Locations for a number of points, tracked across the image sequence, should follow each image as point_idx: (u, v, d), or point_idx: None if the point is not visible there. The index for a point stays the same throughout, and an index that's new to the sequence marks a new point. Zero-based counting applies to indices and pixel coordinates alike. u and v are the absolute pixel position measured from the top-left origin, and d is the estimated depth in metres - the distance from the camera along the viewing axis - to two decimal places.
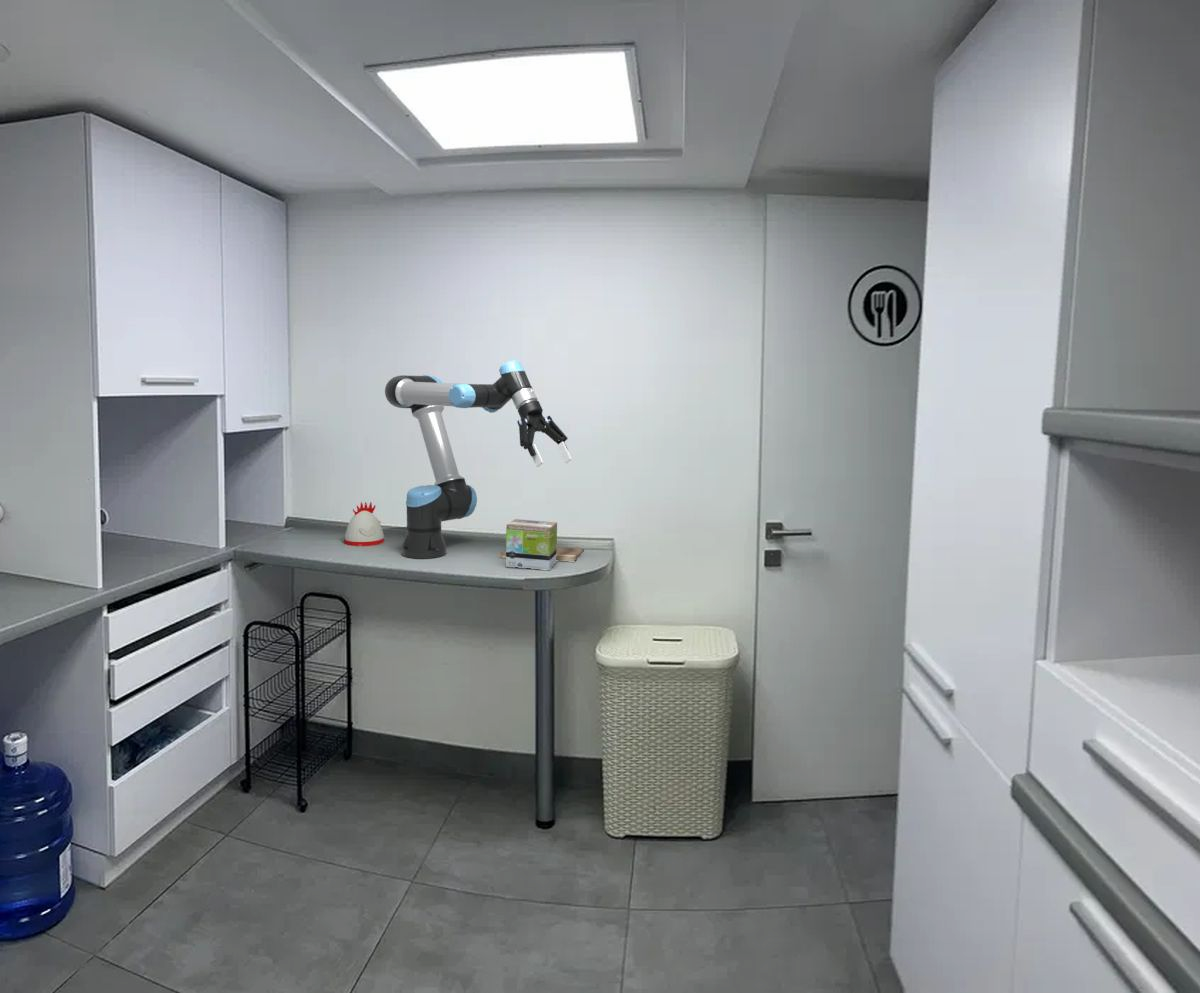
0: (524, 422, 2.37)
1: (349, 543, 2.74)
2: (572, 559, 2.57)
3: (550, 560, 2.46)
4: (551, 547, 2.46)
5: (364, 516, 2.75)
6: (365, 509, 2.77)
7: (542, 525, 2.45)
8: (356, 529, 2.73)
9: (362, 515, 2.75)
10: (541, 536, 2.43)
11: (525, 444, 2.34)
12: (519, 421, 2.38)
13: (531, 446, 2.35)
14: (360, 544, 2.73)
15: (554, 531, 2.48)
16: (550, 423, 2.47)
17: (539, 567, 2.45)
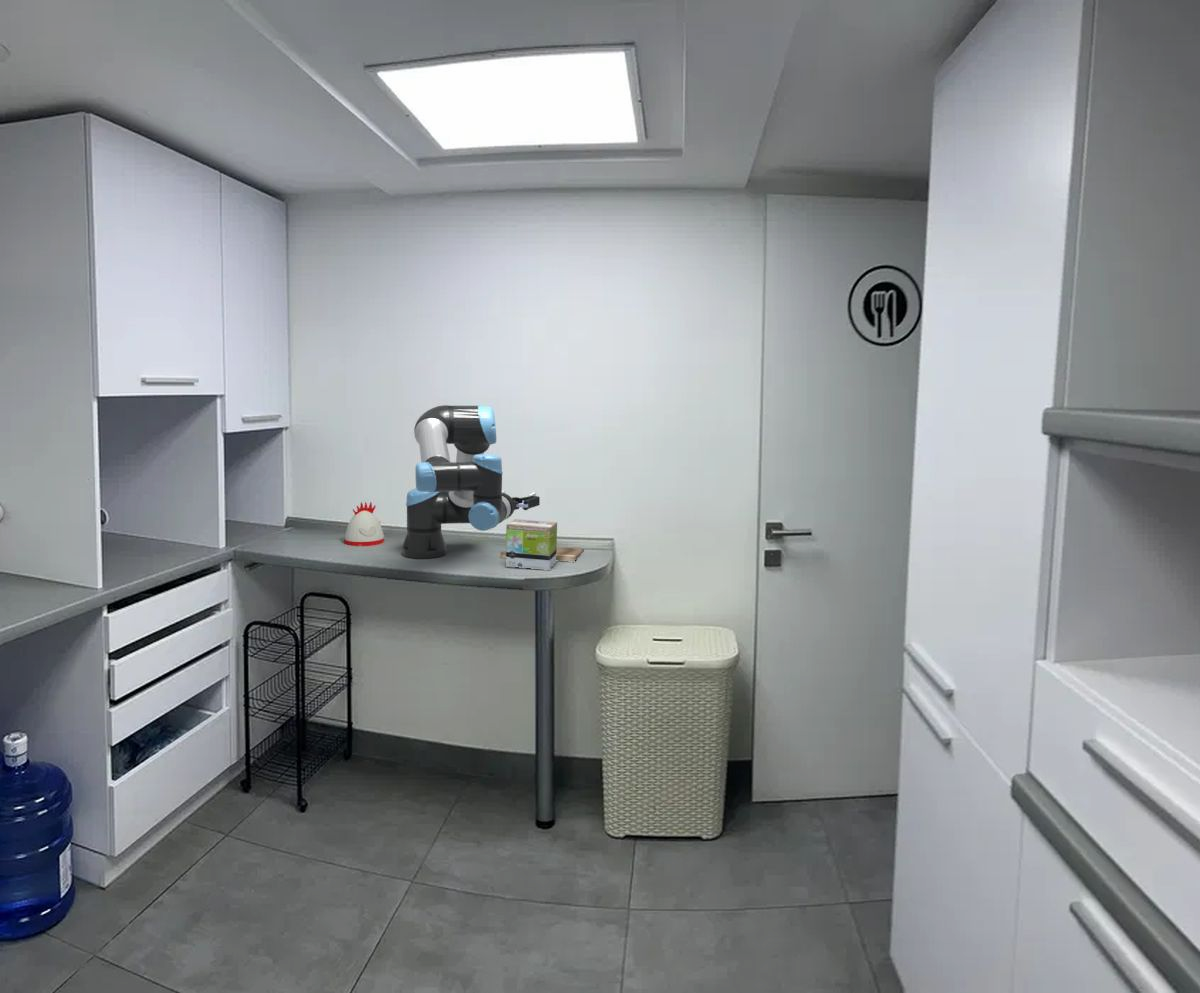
0: None
1: (349, 543, 2.74)
2: (572, 559, 2.57)
3: (550, 560, 2.46)
4: (551, 547, 2.46)
5: (364, 516, 2.75)
6: (365, 509, 2.78)
7: (542, 525, 2.45)
8: (356, 529, 2.73)
9: (362, 515, 2.75)
10: (541, 536, 2.43)
11: None
12: None
13: None
14: (360, 544, 2.73)
15: (554, 531, 2.48)
16: None
17: (539, 567, 2.45)
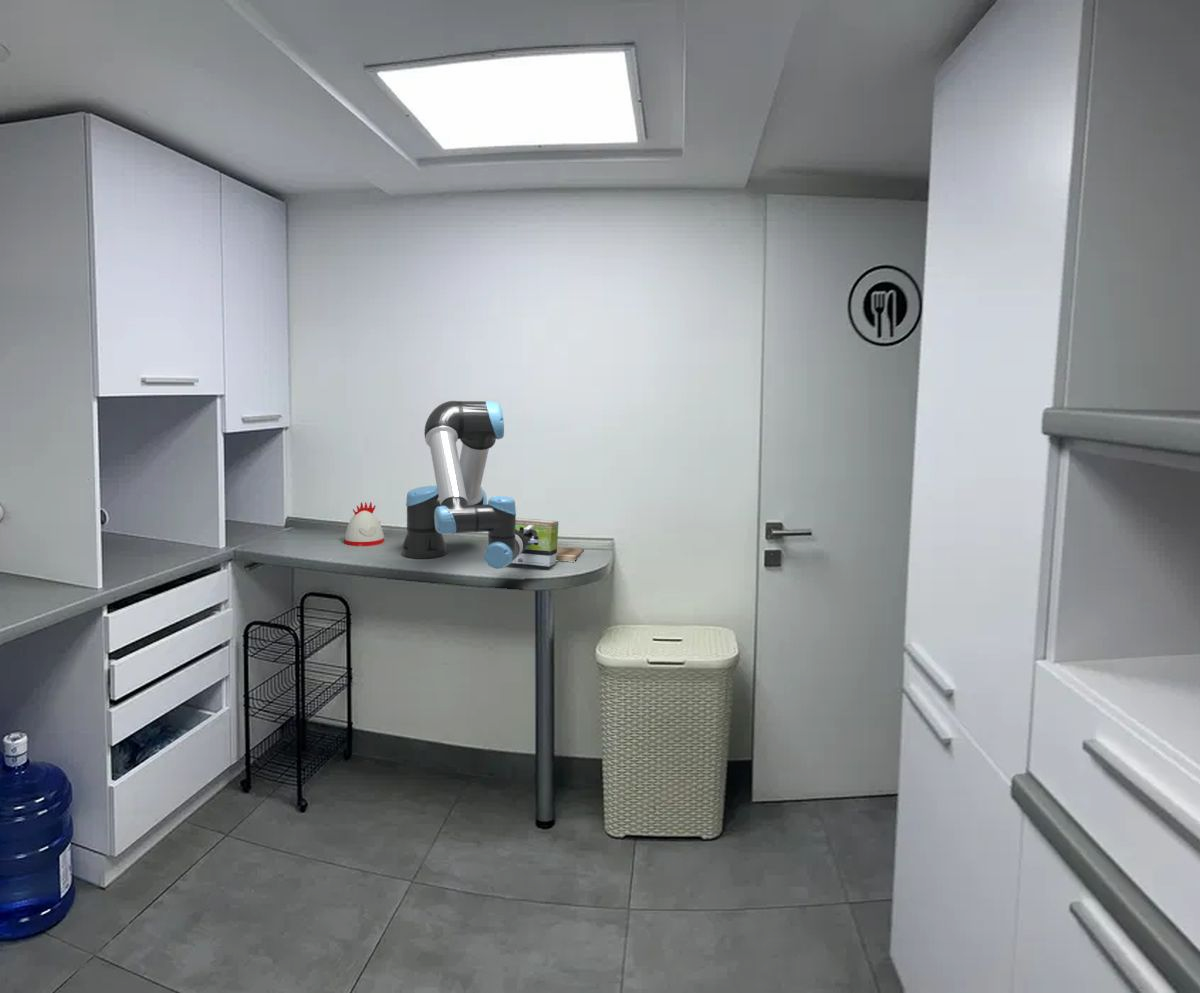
0: None
1: (349, 543, 2.74)
2: (572, 559, 2.57)
3: (551, 556, 2.46)
4: (552, 543, 2.47)
5: (364, 516, 2.75)
6: (365, 509, 2.78)
7: (544, 521, 2.47)
8: (356, 529, 2.73)
9: (362, 515, 2.75)
10: (542, 531, 2.45)
11: None
12: None
13: None
14: (360, 544, 2.73)
15: (555, 528, 2.50)
16: None
17: (539, 563, 2.45)
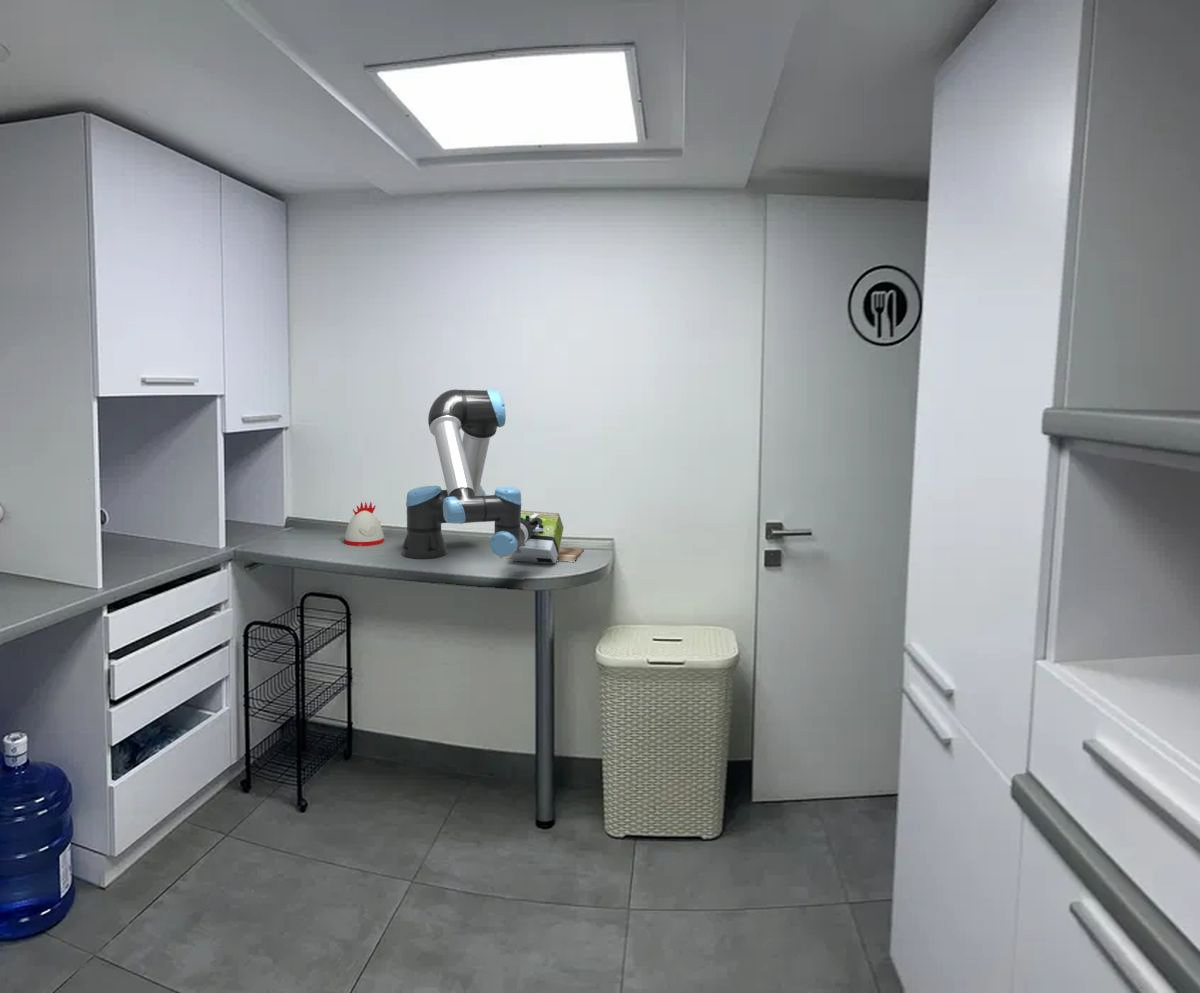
0: None
1: (349, 543, 2.74)
2: (572, 559, 2.57)
3: (553, 543, 2.49)
4: (556, 533, 2.52)
5: (364, 516, 2.75)
6: (365, 509, 2.78)
7: None
8: (356, 529, 2.73)
9: (362, 515, 2.75)
10: (549, 519, 2.53)
11: None
12: None
13: None
14: (360, 544, 2.73)
15: (560, 527, 2.57)
16: None
17: (541, 547, 2.48)
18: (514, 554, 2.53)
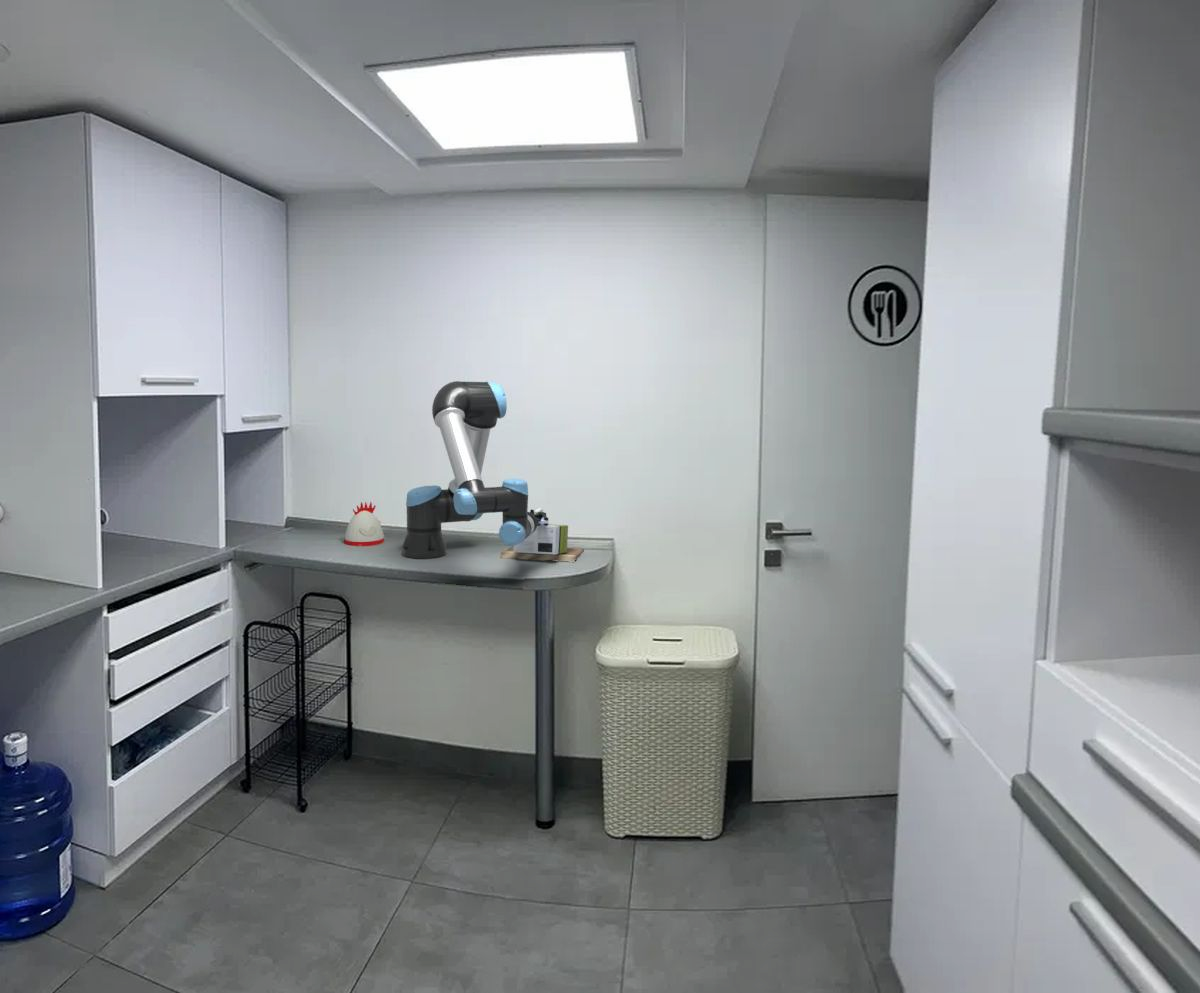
0: None
1: (349, 543, 2.74)
2: (572, 559, 2.57)
3: (559, 529, 2.56)
4: (562, 531, 2.60)
5: (364, 516, 2.75)
6: (365, 509, 2.78)
7: None
8: (356, 529, 2.73)
9: (362, 515, 2.75)
10: None
11: None
12: None
13: None
14: (360, 544, 2.73)
15: (565, 541, 2.65)
16: None
17: (548, 525, 2.55)
18: None
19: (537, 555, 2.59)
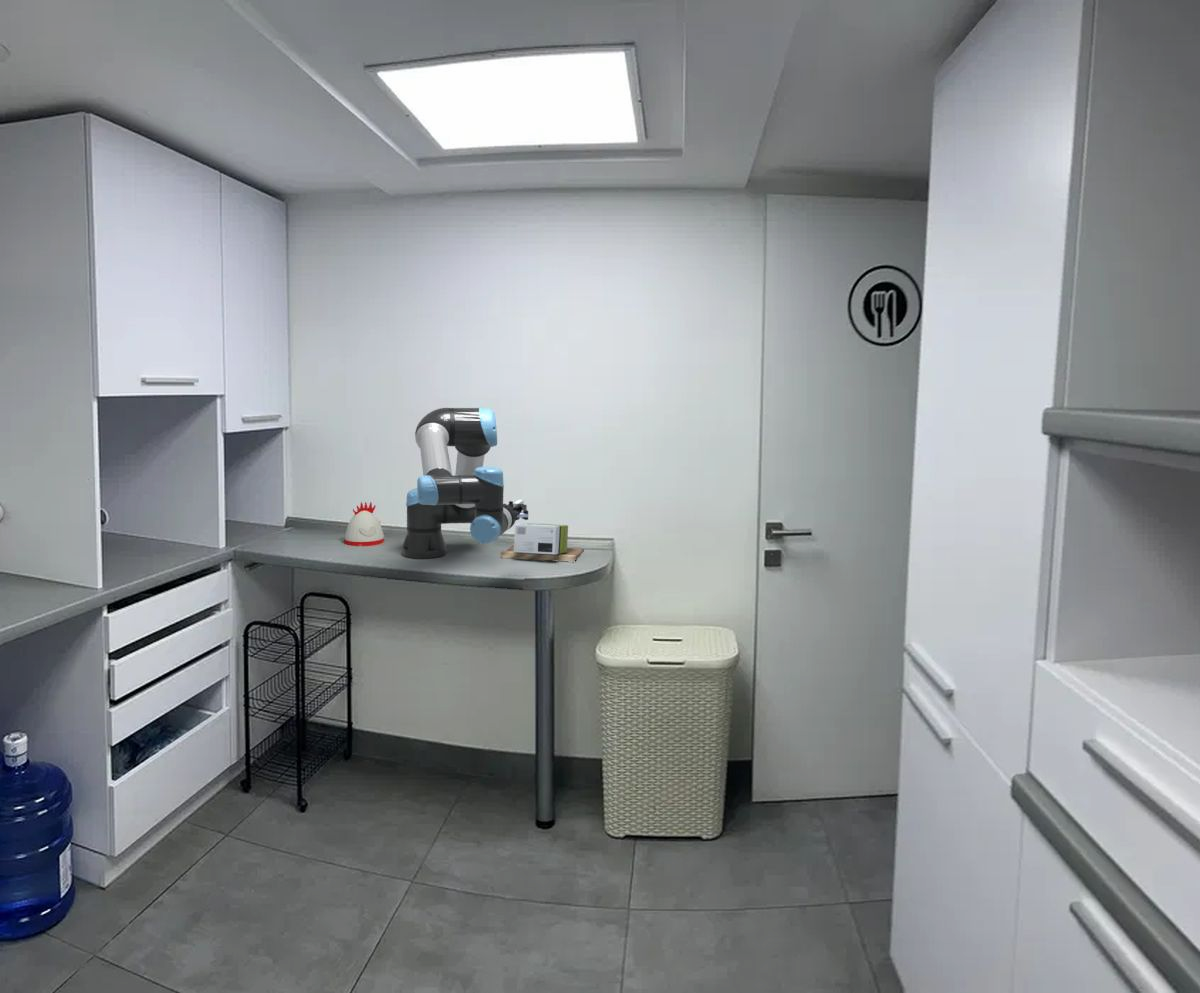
0: None
1: (349, 543, 2.74)
2: (572, 559, 2.57)
3: (559, 529, 2.56)
4: (562, 531, 2.60)
5: (364, 516, 2.75)
6: (365, 509, 2.78)
7: None
8: (356, 529, 2.73)
9: (362, 515, 2.75)
10: None
11: None
12: None
13: None
14: (360, 544, 2.73)
15: (565, 541, 2.65)
16: None
17: (548, 525, 2.55)
18: (517, 538, 2.56)
19: (537, 555, 2.59)
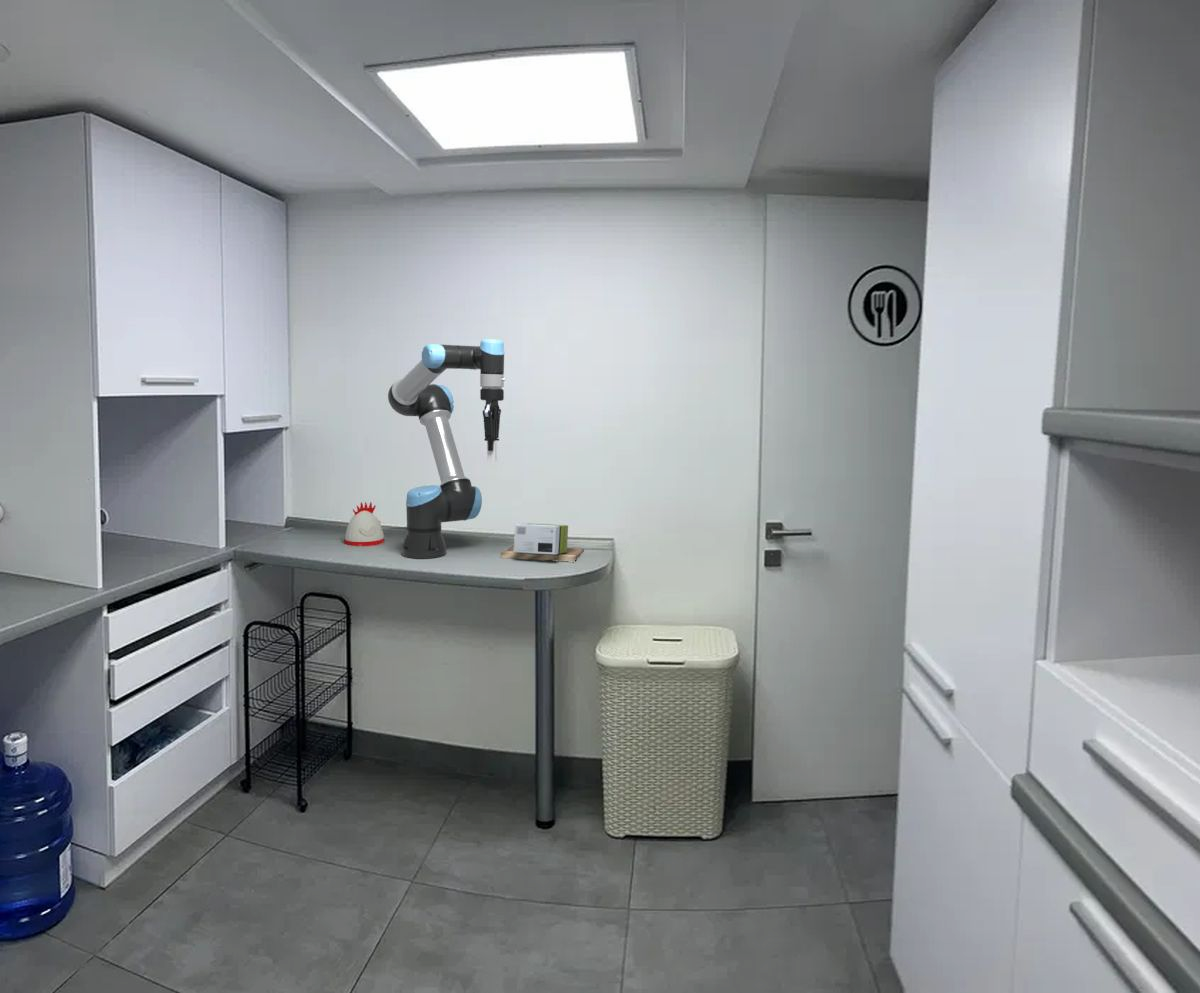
0: (490, 416, 2.41)
1: (349, 543, 2.74)
2: (572, 559, 2.57)
3: (559, 529, 2.56)
4: (562, 531, 2.60)
5: (364, 516, 2.75)
6: (365, 509, 2.78)
7: None
8: (356, 529, 2.73)
9: (362, 515, 2.75)
10: None
11: (490, 439, 2.44)
12: (485, 413, 2.40)
13: (493, 441, 2.47)
14: (360, 544, 2.73)
15: (565, 541, 2.65)
16: None
17: (548, 525, 2.55)
18: (517, 538, 2.56)
19: (537, 555, 2.59)
